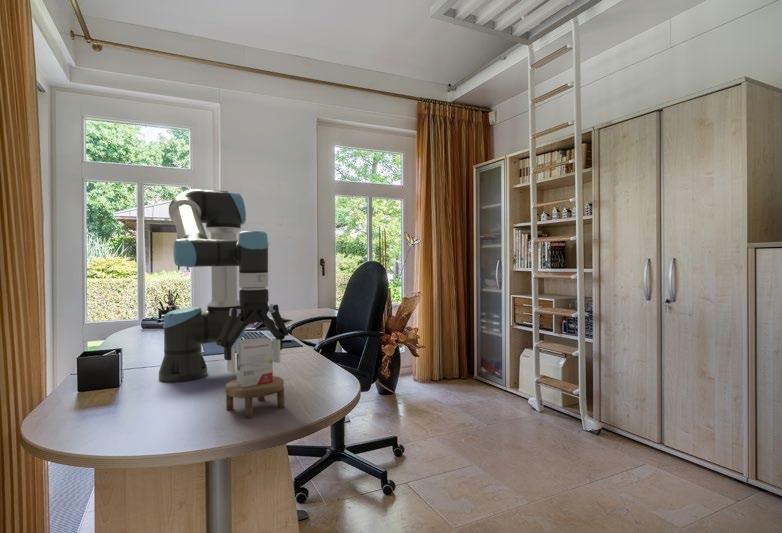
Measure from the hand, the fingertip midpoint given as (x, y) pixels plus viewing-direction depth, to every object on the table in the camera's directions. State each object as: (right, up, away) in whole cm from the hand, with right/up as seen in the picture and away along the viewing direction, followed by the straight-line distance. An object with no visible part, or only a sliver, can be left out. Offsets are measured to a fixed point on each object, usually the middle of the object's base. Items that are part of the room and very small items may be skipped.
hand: (254, 367), depth 116 cm
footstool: (0, -11, 0) cm, 11 cm away
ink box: (0, -5, 0) cm, 5 cm away
